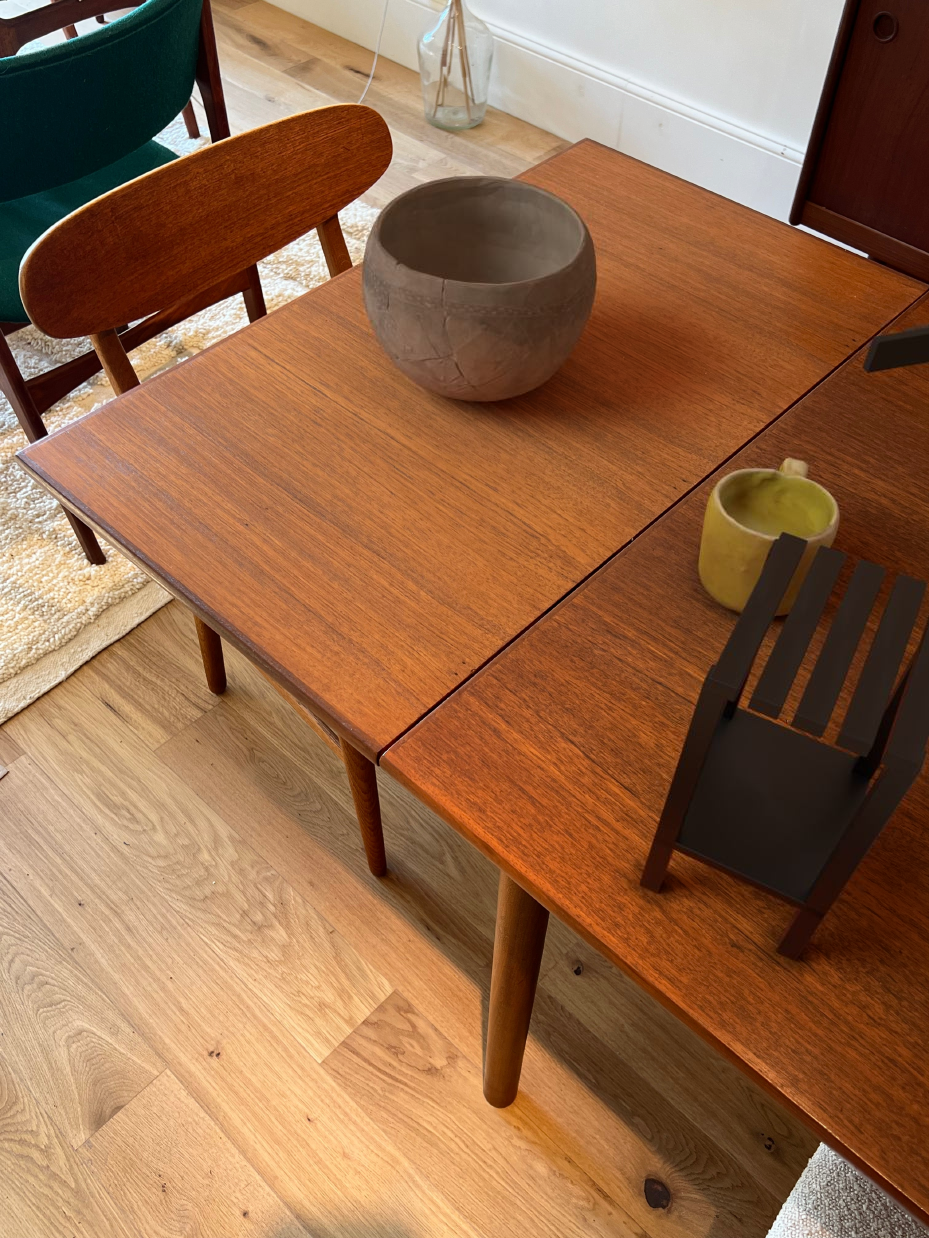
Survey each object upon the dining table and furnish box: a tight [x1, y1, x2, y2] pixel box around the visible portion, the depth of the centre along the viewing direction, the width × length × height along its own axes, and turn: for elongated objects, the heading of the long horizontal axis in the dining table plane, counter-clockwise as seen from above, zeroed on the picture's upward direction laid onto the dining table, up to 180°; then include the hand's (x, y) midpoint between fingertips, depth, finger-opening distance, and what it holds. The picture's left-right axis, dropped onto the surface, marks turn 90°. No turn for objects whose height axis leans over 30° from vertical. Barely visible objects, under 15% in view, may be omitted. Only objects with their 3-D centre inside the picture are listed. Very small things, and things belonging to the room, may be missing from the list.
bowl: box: [361, 175, 598, 402], centre depth 90 cm, size 21×21×15 cm
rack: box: [638, 532, 929, 962], centre depth 55 cm, size 10×11×21 cm
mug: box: [698, 457, 841, 617], centre depth 76 cm, size 12×10×10 cm
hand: (920, 409), depth 70 cm, fingers open, 13 cm apart
